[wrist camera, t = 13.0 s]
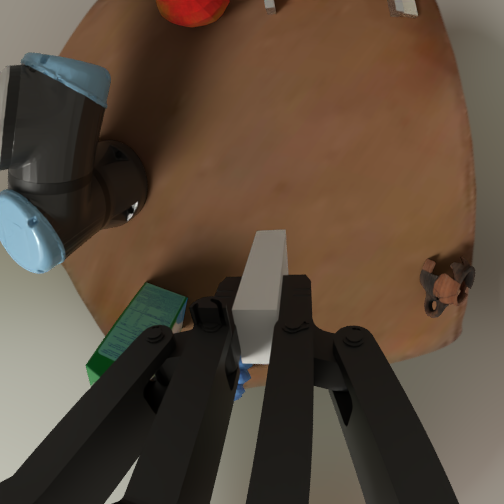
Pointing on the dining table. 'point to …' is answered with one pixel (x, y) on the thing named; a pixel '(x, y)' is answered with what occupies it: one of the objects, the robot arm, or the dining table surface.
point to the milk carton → (137, 325)
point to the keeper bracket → (399, 5)
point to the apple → (192, 11)
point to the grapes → (242, 378)
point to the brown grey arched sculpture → (445, 286)
